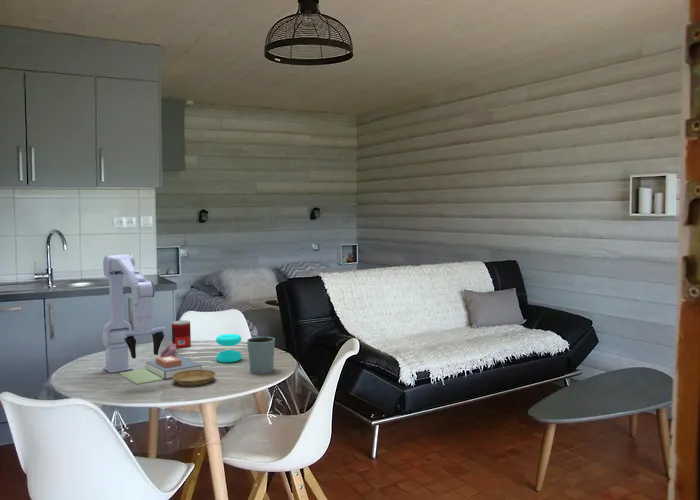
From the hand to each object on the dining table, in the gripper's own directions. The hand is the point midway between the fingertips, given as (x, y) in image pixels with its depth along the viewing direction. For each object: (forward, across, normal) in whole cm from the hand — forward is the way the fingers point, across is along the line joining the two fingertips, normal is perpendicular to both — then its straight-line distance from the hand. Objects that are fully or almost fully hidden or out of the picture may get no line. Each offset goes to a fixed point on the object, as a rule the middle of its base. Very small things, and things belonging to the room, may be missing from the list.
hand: (144, 356), depth 205 cm
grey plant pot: (+10, +40, -9) cm, 43 cm away
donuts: (+10, +39, +14) cm, 43 cm away
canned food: (+10, +35, +51) cm, 63 cm away
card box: (+7, +13, +12) cm, 19 cm away
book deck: (+10, +15, +12) cm, 22 cm away
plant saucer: (+11, +15, -6) cm, 19 cm away
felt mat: (+10, +3, +12) cm, 16 cm away
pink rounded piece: (+10, +22, +33) cm, 41 cm away
